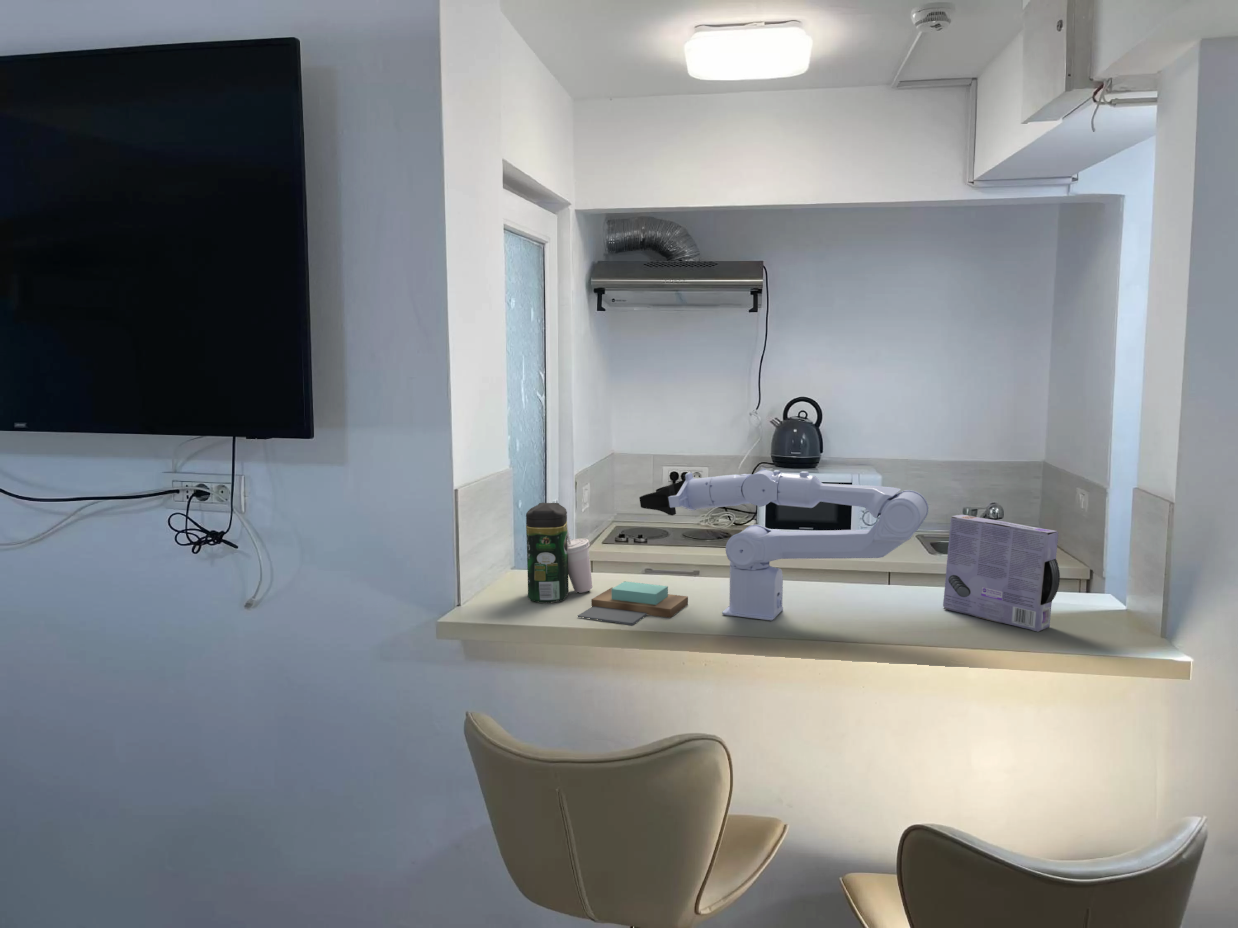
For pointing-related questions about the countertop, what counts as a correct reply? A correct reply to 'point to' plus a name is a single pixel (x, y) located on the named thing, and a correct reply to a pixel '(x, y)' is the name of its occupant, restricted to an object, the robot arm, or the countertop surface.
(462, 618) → the countertop surface
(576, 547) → the smoothie
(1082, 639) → the countertop surface
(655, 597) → the teal rectangular block
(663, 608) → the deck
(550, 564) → the coffee jar
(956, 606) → the cake pan box
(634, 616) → the mat
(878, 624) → the countertop surface
